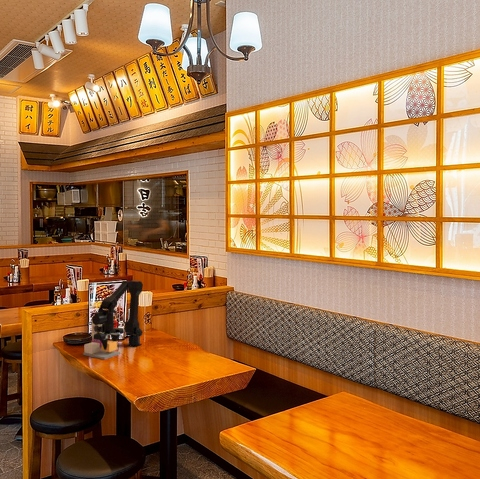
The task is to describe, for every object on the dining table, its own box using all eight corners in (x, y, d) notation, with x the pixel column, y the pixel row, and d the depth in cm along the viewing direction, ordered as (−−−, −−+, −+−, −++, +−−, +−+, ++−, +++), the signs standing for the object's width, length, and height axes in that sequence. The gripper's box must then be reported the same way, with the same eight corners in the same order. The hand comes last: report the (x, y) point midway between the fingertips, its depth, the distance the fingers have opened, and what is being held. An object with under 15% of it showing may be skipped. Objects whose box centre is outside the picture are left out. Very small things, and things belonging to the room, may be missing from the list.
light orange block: (116, 349, 287) (116, 341, 286) (109, 352, 281) (109, 344, 281) (109, 348, 290) (109, 340, 289) (101, 350, 285) (101, 342, 284)
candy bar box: (91, 344, 307) (90, 318, 306) (98, 343, 310) (98, 317, 309) (101, 348, 299) (100, 321, 298) (108, 346, 303) (107, 319, 302)
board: (98, 349, 295) (98, 340, 295) (120, 354, 287) (119, 344, 286) (83, 355, 285) (83, 345, 285) (104, 359, 277) (104, 349, 276)
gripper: (110, 316, 297) (110, 342, 298) (86, 323, 281) (86, 350, 282) (124, 318, 291) (124, 345, 292) (100, 325, 275) (101, 353, 276)
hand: (109, 348), depth 286 cm, fingers closed on light orange block, 6 cm apart
